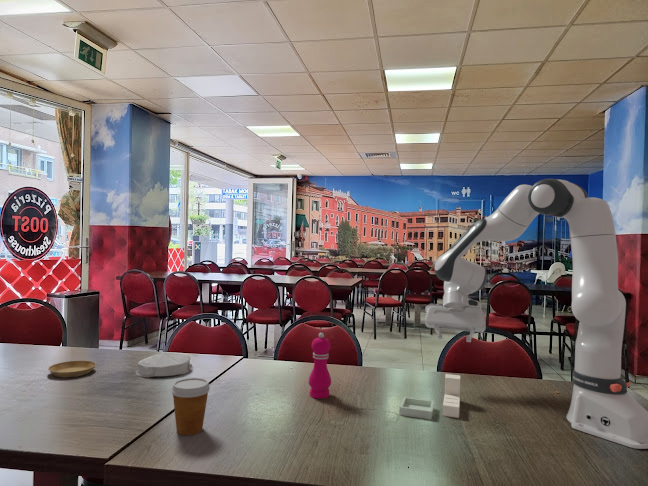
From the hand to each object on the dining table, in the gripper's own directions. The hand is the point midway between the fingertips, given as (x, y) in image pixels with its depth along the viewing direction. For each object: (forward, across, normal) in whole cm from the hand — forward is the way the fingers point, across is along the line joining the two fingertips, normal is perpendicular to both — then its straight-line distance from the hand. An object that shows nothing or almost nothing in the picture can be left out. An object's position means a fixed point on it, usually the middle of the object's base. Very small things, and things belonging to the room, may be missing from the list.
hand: (454, 339), depth 149 cm
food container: (+25, -102, -1) cm, 105 cm away
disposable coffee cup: (+51, -64, -32) cm, 88 cm away
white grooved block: (+26, 0, -4) cm, 26 cm away
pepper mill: (+28, -40, -5) cm, 49 cm away
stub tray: (+29, -10, -7) cm, 31 cm away
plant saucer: (+35, -129, -12) cm, 134 cm away
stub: (+21, 0, +2) cm, 21 cm away
